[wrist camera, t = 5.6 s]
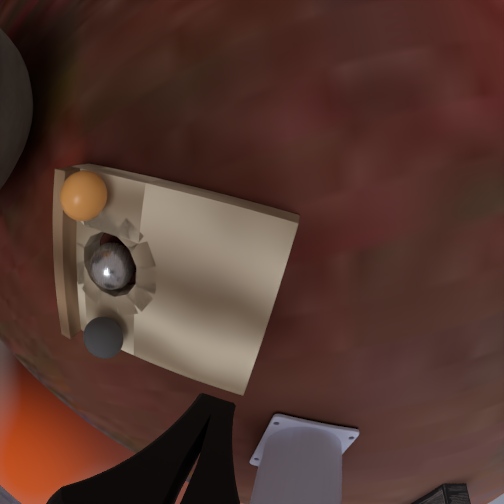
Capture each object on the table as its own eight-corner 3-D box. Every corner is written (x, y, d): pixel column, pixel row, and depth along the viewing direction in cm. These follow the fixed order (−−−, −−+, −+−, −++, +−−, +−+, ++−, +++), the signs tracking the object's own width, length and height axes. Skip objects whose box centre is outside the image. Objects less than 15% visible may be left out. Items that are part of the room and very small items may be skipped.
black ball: (130, 349, 21) (111, 373, 18) (99, 334, 21) (77, 355, 18) (131, 318, 20) (108, 341, 17) (97, 303, 20) (73, 323, 17)
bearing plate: (248, 377, 22) (238, 410, 19) (85, 314, 23) (61, 334, 20) (299, 215, 17) (297, 230, 14) (88, 163, 19) (55, 169, 15)
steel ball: (95, 258, 20) (134, 268, 22) (84, 292, 18) (127, 303, 19) (97, 227, 18) (141, 239, 20) (84, 263, 16) (133, 276, 17)
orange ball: (114, 219, 17) (84, 232, 14) (80, 208, 18) (49, 220, 15) (119, 171, 16) (87, 178, 13) (84, 164, 16) (51, 170, 14)
